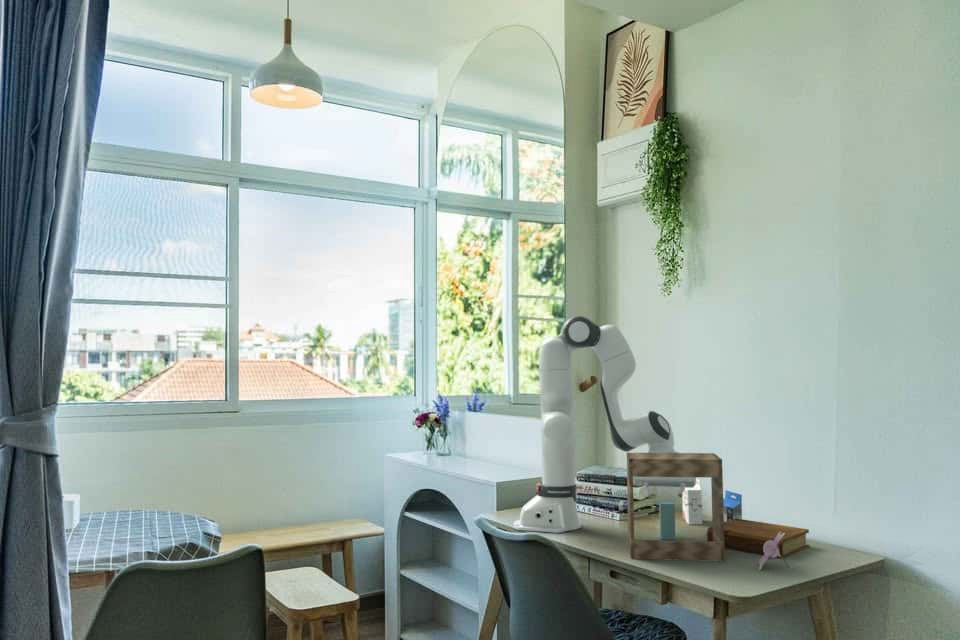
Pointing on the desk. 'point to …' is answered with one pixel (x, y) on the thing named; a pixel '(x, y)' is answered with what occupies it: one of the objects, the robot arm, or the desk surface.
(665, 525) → the teal block
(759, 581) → the desk surface
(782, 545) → the diary
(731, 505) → the label tape cartridge
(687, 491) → the ink cartridge box
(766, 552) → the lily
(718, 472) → the walnut cubby
